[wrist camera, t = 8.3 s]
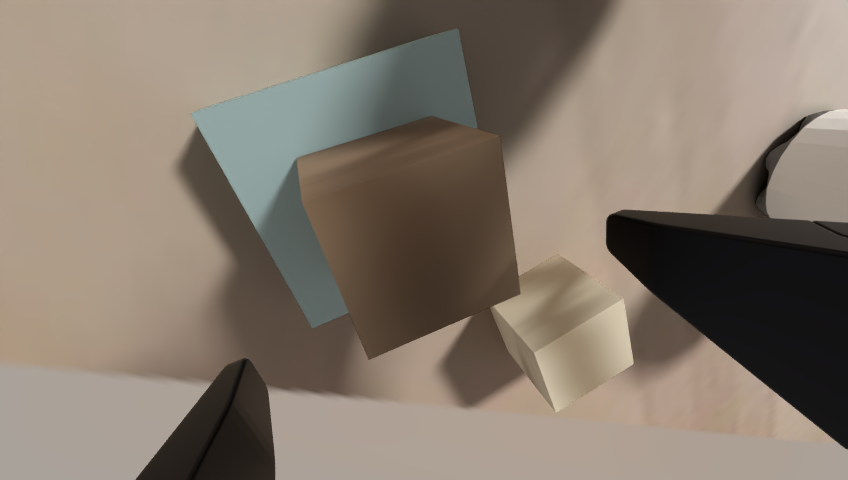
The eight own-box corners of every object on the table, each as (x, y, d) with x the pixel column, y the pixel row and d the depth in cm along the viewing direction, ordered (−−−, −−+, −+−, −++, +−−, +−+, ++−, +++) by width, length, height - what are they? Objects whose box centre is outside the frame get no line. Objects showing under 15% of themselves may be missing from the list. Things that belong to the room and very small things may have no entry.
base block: (429, 35, 15) (458, 28, 13) (473, 223, 19) (501, 247, 17) (209, 105, 14) (190, 113, 11) (309, 291, 18) (312, 328, 15)
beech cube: (557, 253, 22) (623, 298, 17) (572, 311, 24) (633, 363, 20) (484, 295, 21) (534, 352, 17) (507, 350, 24) (556, 412, 19)
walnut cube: (431, 115, 13) (499, 135, 9) (456, 233, 16) (520, 294, 11) (296, 157, 12) (302, 202, 8) (344, 276, 15) (368, 359, 11)
